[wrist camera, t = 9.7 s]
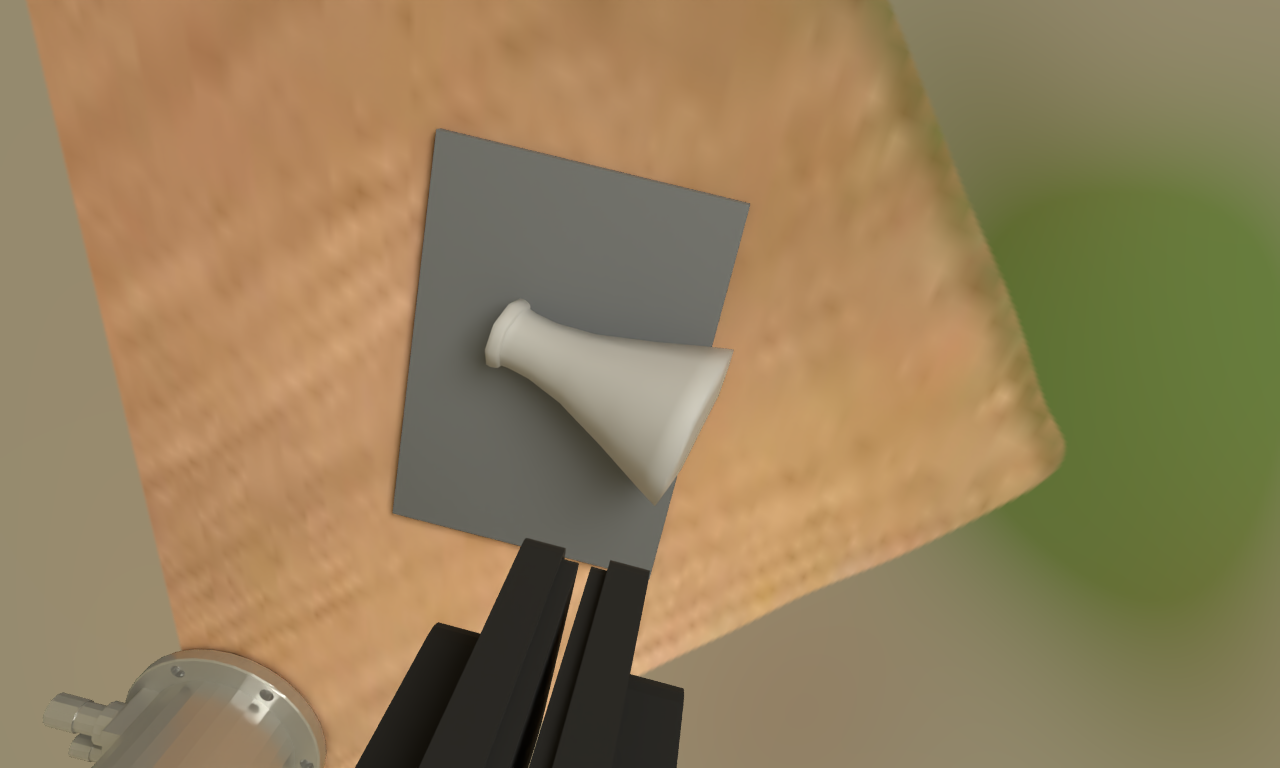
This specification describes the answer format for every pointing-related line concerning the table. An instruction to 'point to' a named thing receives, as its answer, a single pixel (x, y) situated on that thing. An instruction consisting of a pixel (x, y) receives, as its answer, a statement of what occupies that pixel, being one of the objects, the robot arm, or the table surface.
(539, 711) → the robot arm
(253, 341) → the table surface
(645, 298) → the mat
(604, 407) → the flask
